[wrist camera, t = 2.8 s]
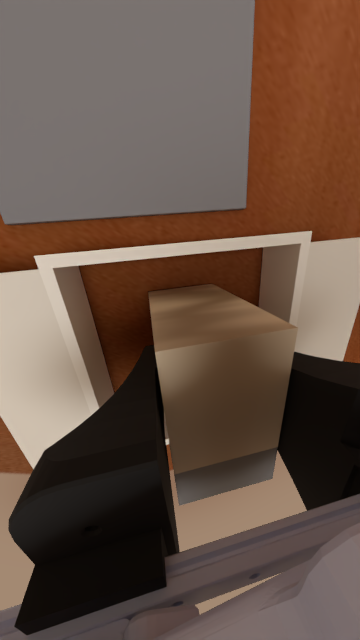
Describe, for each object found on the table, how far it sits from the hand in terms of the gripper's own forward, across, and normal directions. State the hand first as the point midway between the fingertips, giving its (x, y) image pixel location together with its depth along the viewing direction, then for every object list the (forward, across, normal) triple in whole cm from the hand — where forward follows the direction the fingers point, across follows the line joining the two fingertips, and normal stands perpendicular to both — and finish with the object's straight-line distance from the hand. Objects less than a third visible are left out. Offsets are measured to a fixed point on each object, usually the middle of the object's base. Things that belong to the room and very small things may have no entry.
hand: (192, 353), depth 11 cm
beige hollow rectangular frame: (+2, 0, 0) cm, 2 cm away
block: (+2, 0, 0) cm, 2 cm away
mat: (+2, +2, -12) cm, 13 cm away
